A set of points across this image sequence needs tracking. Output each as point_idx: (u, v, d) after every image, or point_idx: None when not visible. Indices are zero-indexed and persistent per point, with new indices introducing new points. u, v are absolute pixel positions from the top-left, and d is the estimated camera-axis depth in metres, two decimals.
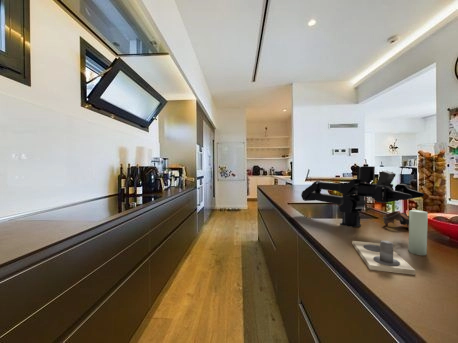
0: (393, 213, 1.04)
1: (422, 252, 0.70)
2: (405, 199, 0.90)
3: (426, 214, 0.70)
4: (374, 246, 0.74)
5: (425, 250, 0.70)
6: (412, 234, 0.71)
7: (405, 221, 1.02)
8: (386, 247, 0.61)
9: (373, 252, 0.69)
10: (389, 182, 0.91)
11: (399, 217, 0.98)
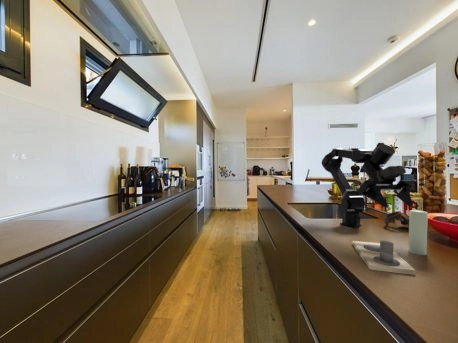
0: (394, 213, 1.04)
1: (422, 252, 0.70)
2: (397, 196, 0.85)
3: (426, 214, 0.70)
4: (374, 246, 0.74)
5: (425, 250, 0.70)
6: (412, 234, 0.71)
7: (406, 221, 1.01)
8: (386, 247, 0.61)
9: (373, 252, 0.69)
10: (392, 177, 0.83)
11: (400, 217, 0.98)
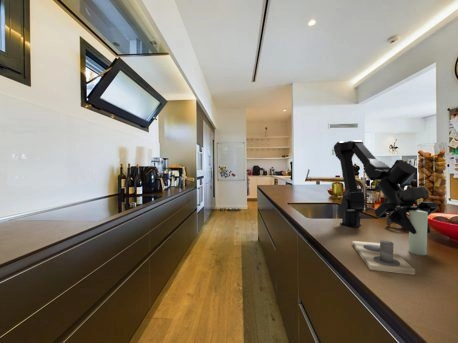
0: None
1: (422, 252, 0.70)
2: None
3: (426, 214, 0.70)
4: (374, 246, 0.74)
5: (425, 250, 0.70)
6: (412, 234, 0.71)
7: None
8: (386, 247, 0.61)
9: (373, 252, 0.69)
10: (413, 199, 0.75)
11: None
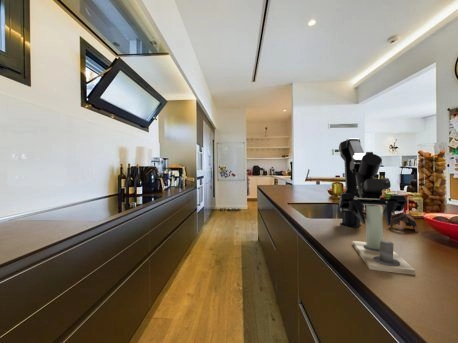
0: (398, 214, 1.01)
1: (374, 246, 0.71)
2: None
3: (378, 208, 0.71)
4: None
5: (378, 244, 0.70)
6: (367, 228, 0.73)
7: (411, 223, 0.99)
8: (386, 247, 0.61)
9: (373, 252, 0.69)
10: (375, 191, 0.74)
11: (405, 219, 0.95)
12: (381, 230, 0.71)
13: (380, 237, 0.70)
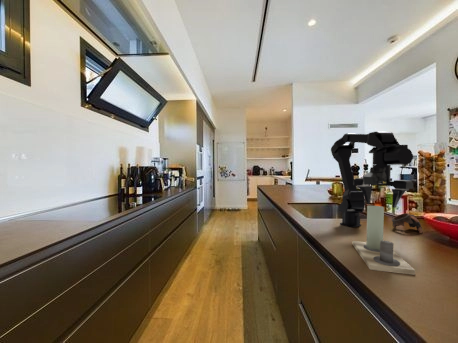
0: (402, 215, 1.00)
1: (374, 247, 0.70)
2: None
3: (379, 209, 0.70)
4: None
5: (378, 245, 0.70)
6: (367, 228, 0.72)
7: (414, 223, 0.97)
8: (386, 247, 0.61)
9: (373, 252, 0.69)
10: None
11: (410, 220, 0.93)
12: (382, 231, 0.70)
13: (380, 238, 0.70)
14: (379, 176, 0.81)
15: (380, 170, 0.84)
